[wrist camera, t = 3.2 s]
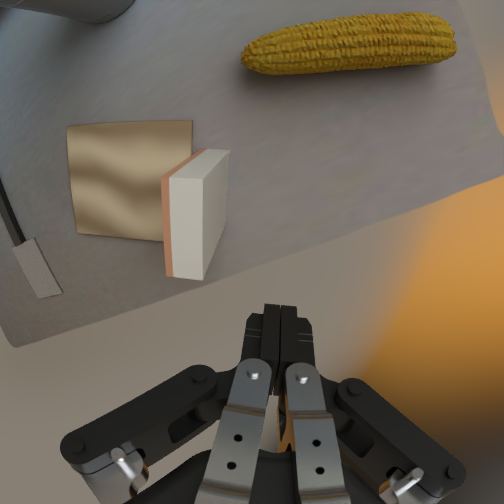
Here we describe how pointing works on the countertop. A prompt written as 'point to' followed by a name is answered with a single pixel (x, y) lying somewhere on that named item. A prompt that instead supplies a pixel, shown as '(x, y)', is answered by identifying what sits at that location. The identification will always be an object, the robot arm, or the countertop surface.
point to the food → (352, 44)
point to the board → (124, 174)
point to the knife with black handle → (29, 254)
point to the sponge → (194, 212)
